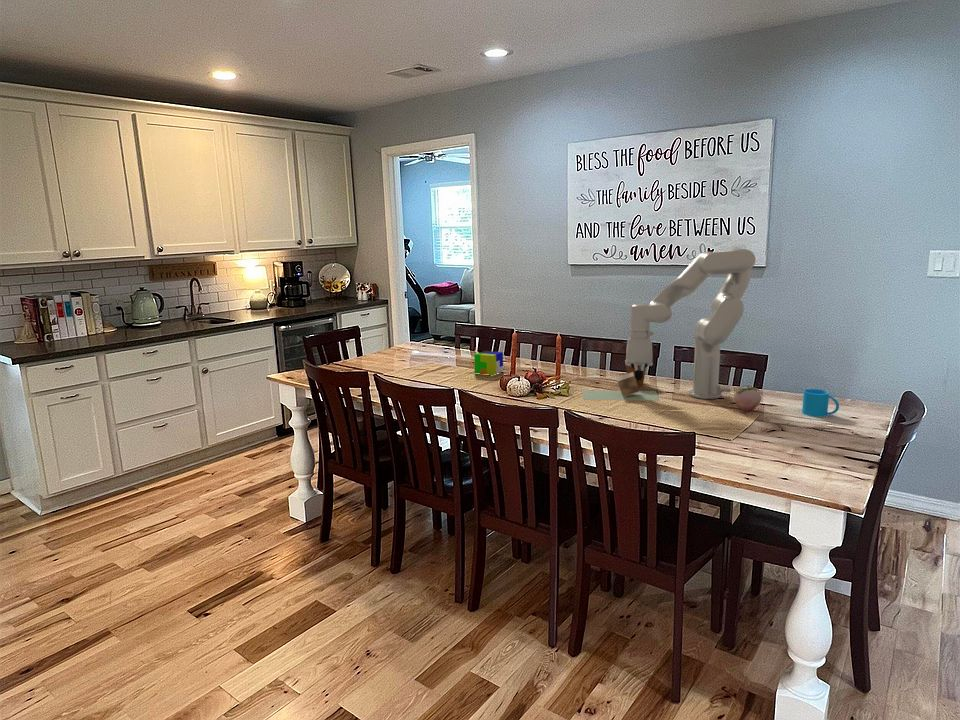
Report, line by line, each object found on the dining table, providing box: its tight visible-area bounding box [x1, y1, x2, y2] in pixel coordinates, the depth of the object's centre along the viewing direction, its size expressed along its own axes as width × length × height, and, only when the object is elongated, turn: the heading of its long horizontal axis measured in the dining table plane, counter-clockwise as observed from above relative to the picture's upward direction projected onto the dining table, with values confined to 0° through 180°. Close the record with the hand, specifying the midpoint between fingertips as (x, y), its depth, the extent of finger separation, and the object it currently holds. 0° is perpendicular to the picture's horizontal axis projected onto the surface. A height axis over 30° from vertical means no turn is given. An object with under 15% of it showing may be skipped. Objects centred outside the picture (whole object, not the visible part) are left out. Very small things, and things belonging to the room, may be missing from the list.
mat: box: [582, 389, 661, 402], centre depth 262 cm, size 30×15×1 cm, turn 82°
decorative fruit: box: [733, 385, 762, 413], centre depth 235 cm, size 9×8×10 cm
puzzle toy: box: [473, 350, 504, 375], centre depth 308 cm, size 10×10×10 cm
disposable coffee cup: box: [624, 359, 647, 387], centre depth 278 cm, size 10×10×12 cm
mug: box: [801, 388, 840, 418], centre depth 230 cm, size 12×8×8 cm
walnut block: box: [616, 372, 641, 397], centre depth 261 cm, size 7×7×7 cm
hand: (638, 379), depth 260 cm, fingers closed
